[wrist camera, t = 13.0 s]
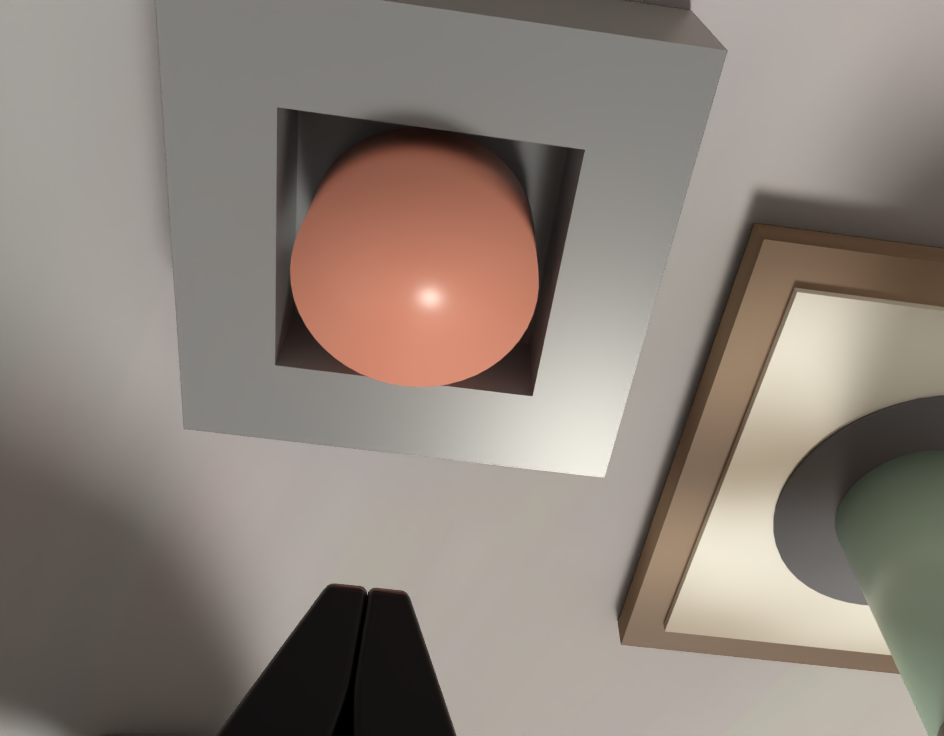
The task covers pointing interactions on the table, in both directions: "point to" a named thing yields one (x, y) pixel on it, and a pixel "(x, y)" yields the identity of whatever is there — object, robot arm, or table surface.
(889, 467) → the canister
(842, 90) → the table surface
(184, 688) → the table surface
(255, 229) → the button housing
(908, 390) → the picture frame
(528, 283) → the button
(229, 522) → the table surface
